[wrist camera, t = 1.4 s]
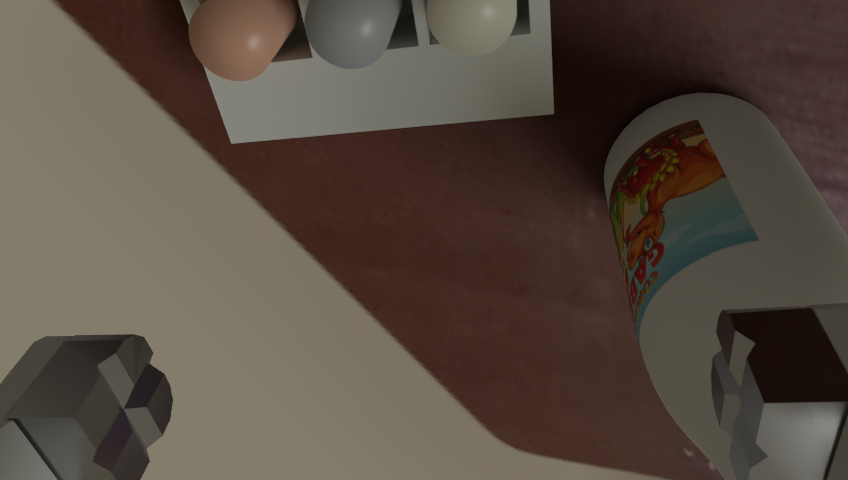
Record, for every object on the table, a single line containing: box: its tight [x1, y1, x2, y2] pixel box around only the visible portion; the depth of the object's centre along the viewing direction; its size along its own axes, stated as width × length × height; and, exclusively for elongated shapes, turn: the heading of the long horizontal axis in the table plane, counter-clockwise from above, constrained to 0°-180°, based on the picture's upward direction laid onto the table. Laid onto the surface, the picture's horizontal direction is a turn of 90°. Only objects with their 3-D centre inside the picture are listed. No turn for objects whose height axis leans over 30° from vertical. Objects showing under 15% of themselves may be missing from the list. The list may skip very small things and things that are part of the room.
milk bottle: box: [604, 93, 848, 480], centre depth 24 cm, size 8×8×20 cm
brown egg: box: [189, 0, 302, 81], centre depth 24 cm, size 3×3×4 cm
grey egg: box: [304, 0, 404, 69], centre depth 24 cm, size 3×3×4 cm
